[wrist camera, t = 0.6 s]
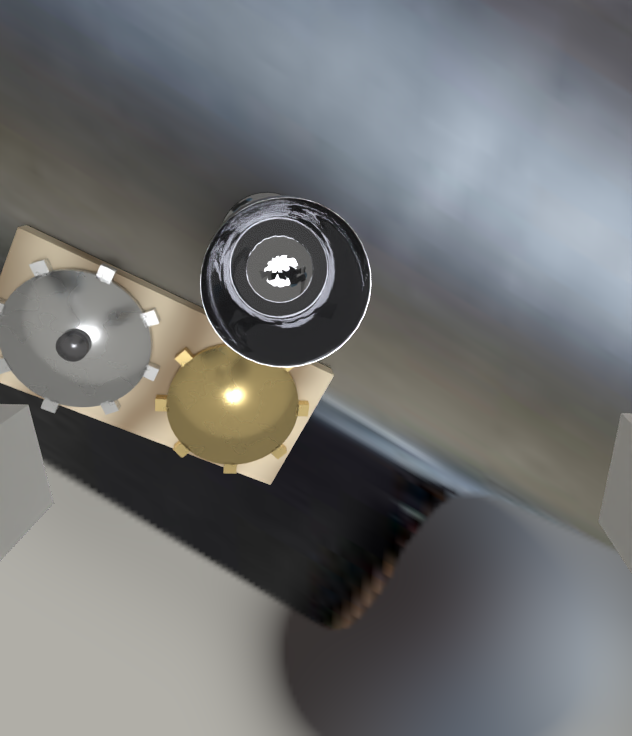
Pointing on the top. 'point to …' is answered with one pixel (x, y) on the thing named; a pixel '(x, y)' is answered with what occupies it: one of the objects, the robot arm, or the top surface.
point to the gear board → (144, 360)
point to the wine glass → (284, 280)
